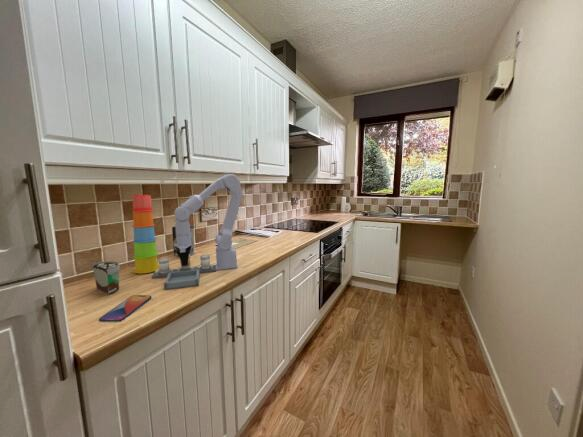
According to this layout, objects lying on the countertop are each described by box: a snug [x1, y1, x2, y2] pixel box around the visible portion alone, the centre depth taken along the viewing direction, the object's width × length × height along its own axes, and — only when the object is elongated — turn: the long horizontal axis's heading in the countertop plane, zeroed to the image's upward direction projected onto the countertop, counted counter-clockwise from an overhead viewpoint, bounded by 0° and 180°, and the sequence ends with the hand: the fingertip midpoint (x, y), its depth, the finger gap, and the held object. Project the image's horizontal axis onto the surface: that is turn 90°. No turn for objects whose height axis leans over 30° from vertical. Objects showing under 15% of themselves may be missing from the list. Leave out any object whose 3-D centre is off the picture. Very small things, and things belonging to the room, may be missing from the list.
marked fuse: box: [179, 254, 191, 269], centre depth 109 cm, size 4×4×6 cm
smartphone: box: [98, 294, 152, 323], centre depth 78 cm, size 7×15×1 cm, turn 177°
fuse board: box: [150, 263, 217, 279], centre depth 109 cm, size 26×7×2 cm, turn 109°
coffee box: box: [171, 225, 195, 257], centre depth 134 cm, size 9×6×16 cm
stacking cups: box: [131, 194, 159, 275], centre depth 109 cm, size 10×10×35 cm
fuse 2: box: [199, 254, 211, 270], centre depth 112 cm, size 4×4×6 cm
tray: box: [163, 269, 201, 291], centre depth 99 cm, size 12×12×2 cm
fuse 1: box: [157, 257, 171, 274], centre depth 106 cm, size 4×4×6 cm
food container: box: [92, 260, 122, 296], centre depth 91 cm, size 12×6×10 cm, turn 59°
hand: (185, 263), depth 109 cm, fingers closed on marked fuse, 4 cm apart
